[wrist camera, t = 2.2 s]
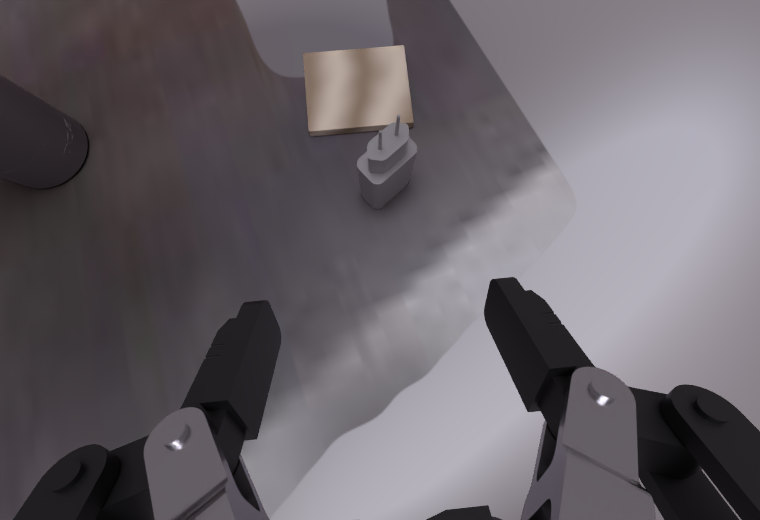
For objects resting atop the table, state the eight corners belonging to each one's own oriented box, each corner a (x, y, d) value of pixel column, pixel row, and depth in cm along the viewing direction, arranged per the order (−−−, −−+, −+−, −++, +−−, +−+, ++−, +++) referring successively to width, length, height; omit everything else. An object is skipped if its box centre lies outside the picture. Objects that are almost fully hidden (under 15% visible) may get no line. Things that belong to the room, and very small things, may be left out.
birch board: (310, 136, 34) (308, 131, 33) (305, 60, 35) (303, 53, 34) (412, 127, 34) (413, 122, 33) (403, 52, 35) (403, 45, 34)
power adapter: (358, 192, 33) (347, 131, 21) (392, 162, 33) (401, 86, 22) (376, 212, 33) (376, 161, 21) (411, 181, 33) (430, 114, 21)
